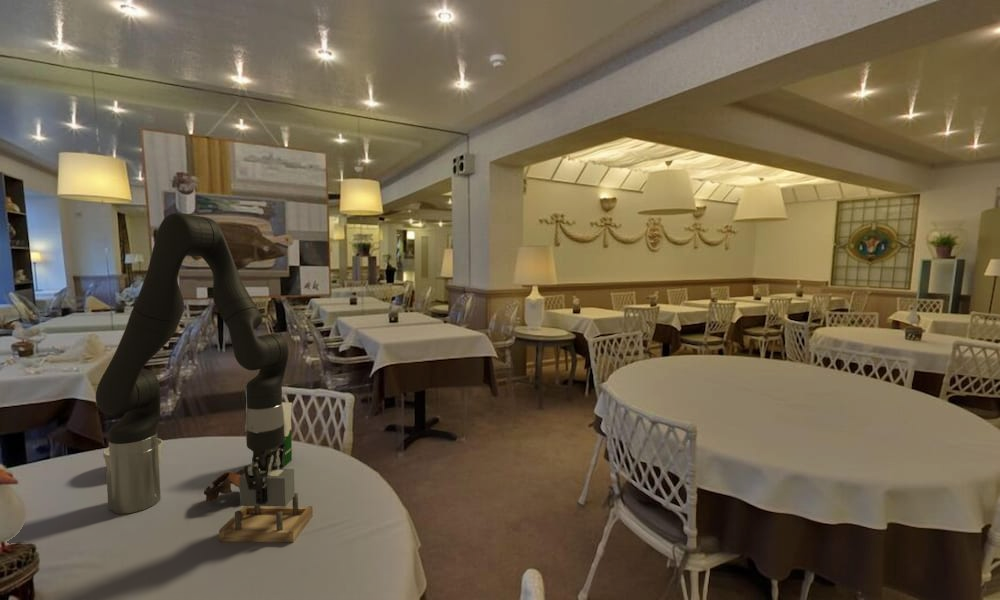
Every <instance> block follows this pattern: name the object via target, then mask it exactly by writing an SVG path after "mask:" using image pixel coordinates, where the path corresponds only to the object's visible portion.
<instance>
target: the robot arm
mask: <svg viewBox="0 0 1000 600" xmlns="http://www.w3.org/2000/svg"><path fill="white" fill-rule="evenodd" d="M186 257H201V258H202V259H203V260H204V262H205V263H206V264H207V265H208V267H209V269H210V270H211V274H212V279H213V281H212V282H213V284H212V299H213V303H214V306H215V308H216V310H217V312H218V313H219V316H220V317H221V319H222V321H223V322H224V325H226V327H227V329H228V332H229V337H230V342H231V346H232V349H233V355H234V358H235V359H236V362H237V363H238V365H240V366H241V367H242V368H244V369H246V370H247V371H257V370H259V371H258V374H257V375H256V376H255V377H253V378H251V380H249V381H248V382H247V384H246V386H245V387H246V389H245V393H246V394H245V395H246V396H245V397H246V412H245V434H246V435H245V436H246V437H245V438H246V439H245V440H246V447H247V449H249V450H250V451H252V458H251V461H252V463H251V464H250V465H246V466H244V467H243V468H244V472H245V477H246V481H247V485H248V489H249V490H256V503H257V504H265V503H266V502H267V487H266V486H267V478H268V477H269V476H270V473H271V469H284V468H285V467H284V458H285V448H286V443H283V442H284V411H283V405H282V402H283V388H282V384H283V381H284V378H285V375H286V374H285V373H286V370H287V365H288V362H289V353H290V352H289V350H290V349H289V346H288V343H287V341H286V339H285V338H284V337H283V336H282V335H280V334H277V333H269V334H263V335H258V336H257V335H256V333H255V330H256V329H258V327H260V326H261V325H262V323H263V316H262V314H261V312H260V311H259V309H258V307H257V305H256V304H255V301H254V300H253V298H252V297H251V296H250V294H249V292H248V291H247V289H246V287H245V285H244V282H243V281H242V279H241V276H240V274H239V272H238V268H237V265H236V263H235V260H234V258H233V255H232V252H231V249H230V247H229V245H228V243H227V239H226V237H225V235H224V232H223V230H222V228H221V227H220V226H219V224H218V223H217V222H216V221H215V220H214V219H212V218H209V217H206V216H200V215H194V214H188V213H181V212H173V213H170V214H168V215H166V216H165V217H164V218H163V220H162V221H161V222H160V224H159V227H158V229H157V233H156V236H155V240H154V244H153V248H152V251H151V256H150V260H149V264H148V268H147V271H146V273H145V276H144V278H143V279H144V280H143V282H142V285H141V286H140V287H141V288H140V290H139V292H138V295H137V298H136V300H135V302H134V304H133V307H132V309H131V312H130V314H129V318H128V321H127V323H126V326H125V329H124V332H123V334H122V336H121V338H120V340H119V343H118V345H117V348H116V350H115V353H114V354H113V356H112V358H111V360H110V362H109V364H108V366H107V367H106V369H105V371H104V373H103V375H102V376H101V378H100V380H99V382H98V384H97V387H96V391H95V403H96V406H97V408H98V410H100V412H101V413H103V414H105V415H109V416H116V415H121V414H124V415H123V416H122V418H121V419H119V420H118V421H117V422H116V423H114V424H113V425H112V426H111V427H110V428H109V430H108V433H107V437H108V439H107V440H108V447H109V456H110V470H109V471H107V470H106V474H105V478H106V490H107V491H106V492H107V508H108V511H113V513H116V514H120V515H121V514H123V515H125V514H133V513H136V512H140V511H143V510H146V509H148V508H149V509H150V507H152V506H154V505H156V504H157V503H158V502H159V501H160V500H161V496H162V495H161V480H160V479H161V477H160V476H161V475H160V463H159V456H158V426H159V424H160V420H161V398H162V397H161V394H162V393H161V384H160V382H159V379H158V377H157V376H156V374H155V373H154V372H153V371H152V370H150V369H146V368H144V367H145V366H146V365H147V363H148V362H149V361H150V360H151V359H153V357H155V355H156V354H158V352H160V351H161V349H162V348H163V347H164V346H166V345H167V343H168V342H169V341H170V340H171V339H172V338H173V336H174V335H175V333H176V331H177V329H178V328H179V325H180V322H181V320H182V317H183V315H184V311H185V310H184V309H185V302H184V297H183V295H182V291H181V288H180V285H179V274H180V270H181V267H182V264H183V262H184V260H185V258H186ZM283 467H284V468H283ZM260 471H266V472H265V473H260ZM261 477H262V478H263V482H262V480H261Z"/></svg>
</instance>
